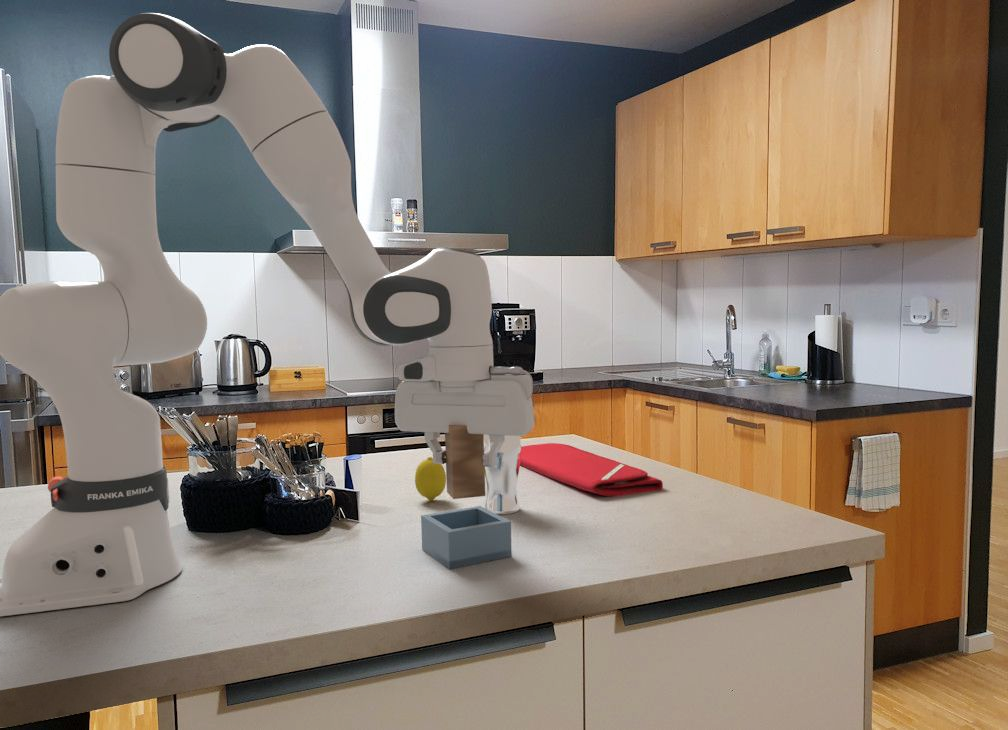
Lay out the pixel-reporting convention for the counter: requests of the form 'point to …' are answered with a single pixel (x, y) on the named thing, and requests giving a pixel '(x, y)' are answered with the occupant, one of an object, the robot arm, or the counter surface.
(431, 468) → the lemon
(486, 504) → the beer glass
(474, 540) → the open box
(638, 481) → the red folded towel
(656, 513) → the counter surface
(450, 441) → the walnut block
